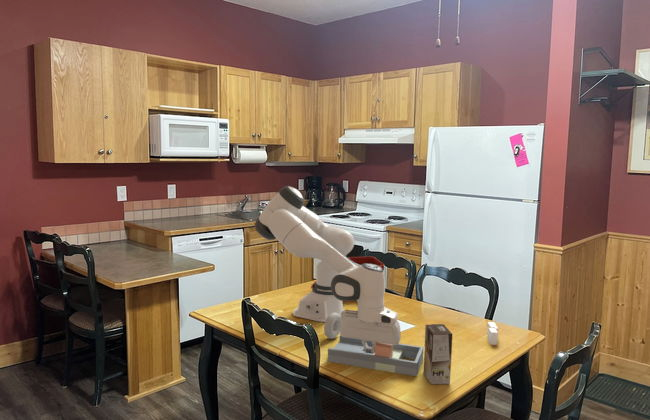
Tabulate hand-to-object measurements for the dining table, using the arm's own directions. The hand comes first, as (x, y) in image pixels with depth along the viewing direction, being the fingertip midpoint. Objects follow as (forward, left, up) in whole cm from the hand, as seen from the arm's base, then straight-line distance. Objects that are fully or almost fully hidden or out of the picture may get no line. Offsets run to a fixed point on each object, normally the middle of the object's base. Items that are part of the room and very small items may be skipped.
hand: (369, 352), depth 167 cm
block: (+5, 0, -1) cm, 5 cm away
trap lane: (+2, +3, -4) cm, 5 cm away
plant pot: (-24, +77, -4) cm, 81 cm away
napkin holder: (+38, +39, -5) cm, 54 cm away
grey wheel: (-18, +17, -4) cm, 25 cm away
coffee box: (+23, -2, -4) cm, 23 cm away
